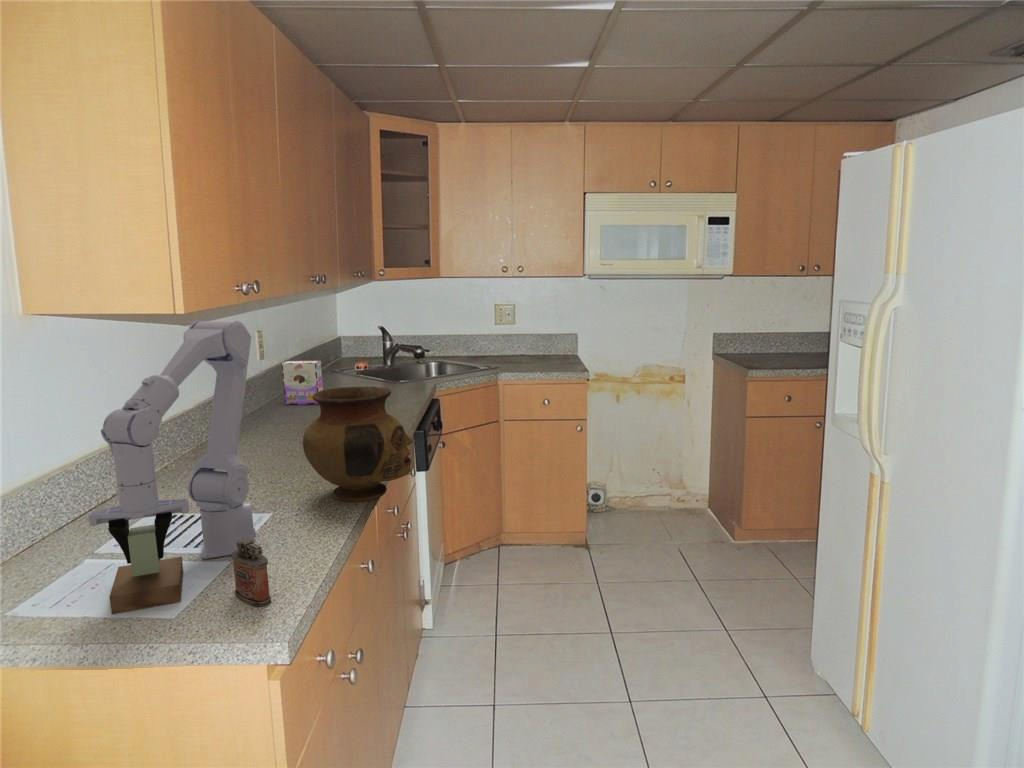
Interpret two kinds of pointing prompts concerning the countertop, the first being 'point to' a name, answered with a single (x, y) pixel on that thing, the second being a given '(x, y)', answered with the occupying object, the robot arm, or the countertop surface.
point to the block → (143, 550)
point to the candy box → (301, 381)
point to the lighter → (251, 574)
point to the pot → (356, 442)
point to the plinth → (147, 587)
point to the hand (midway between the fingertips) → (145, 558)
